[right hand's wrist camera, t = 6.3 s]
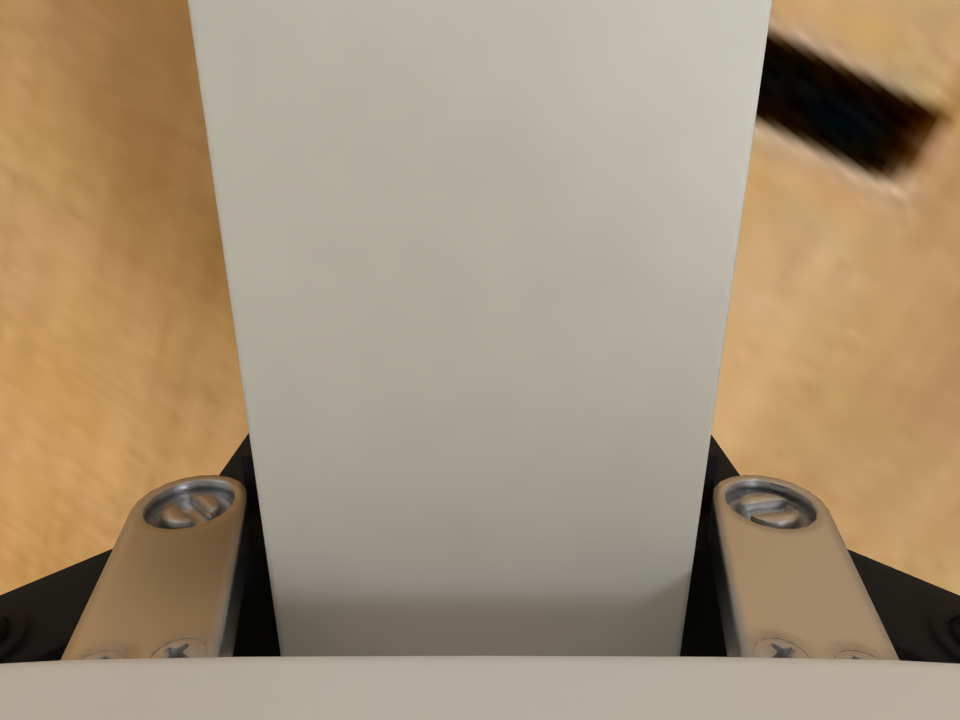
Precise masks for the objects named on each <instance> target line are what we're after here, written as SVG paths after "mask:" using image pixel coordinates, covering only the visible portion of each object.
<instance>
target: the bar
mask: <svg viewBox="0 0 960 720" xmlns="http://www.w3.org/2000/svg"><path fill="white" fill-rule="evenodd" d="M771 4H772V0H188V6H189V13H190V20H191V27H192V34H193V41H194V48H195V55H196V62H197V69H198V76H199V83H200V90H201V98H202V105H203V112H204V119H205V126H206V133H207V140H208V147H209V154H210V161H211V168H212V175H213V182H214V189H215V196H216V203H217V210H218V217H219V224H220V231H221V238H222V245H223V252H224V259H225V267H226V274H227V281H228V288H229V295H230V302H231V309H232V316H233V323H234V330H235V337H236V344H237V351H238V358H239V365H240V372H241V379H242V386H243V393H244V400H245V407H246V414H247V421H248V428H249V436H250V443H251V450H252V457H253V464H254V471H255V478H256V485H257V492H258V499H259V506H260V513H261V520H262V527H263V534H264V541H265V548H266V555H267V562H268V569H269V576H270V583H271V590H272V598H273V605H274V612H275V619H276V626H277V633H278V640H279V647H280V654H281V657H308V656H652V657H680V651H681V644H682V637H683V630H684V623H685V615H686V608H687V601H688V594H689V587H690V580H691V573H692V566H693V559H694V551H695V544H696V537H697V530H698V523H699V516H700V509H701V502H702V495H703V487H704V480H705V473H706V466H707V459H708V452H709V445H710V438H711V431H712V423H713V416H714V409H715V402H716V395H717V388H718V381H719V374H720V367H721V359H722V352H723V345H724V338H725V331H726V324H727V317H728V310H729V303H730V295H731V288H732V281H733V274H734V267H735V260H736V253H737V246H738V239H739V231H740V224H741V217H742V210H743V203H744V196H745V189H746V182H747V175H748V168H749V160H750V153H751V146H752V139H753V132H754V125H755V118H756V111H757V104H758V96H759V89H760V82H761V75H762V68H763V61H764V54H765V47H766V40H767V32H768V25H769V18H770V11H771Z"/></svg>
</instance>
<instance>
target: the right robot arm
mask: <svg viewBox="0 0 960 720" xmlns="http://www.w3.org/2000/svg"><path fill="white" fill-rule="evenodd" d="M0 720H960V596H959V595H957V594H954V593H952V592H949V591H947V590H945V589H942V588H940V587H937V586H935V585H933V584H930V583H928V582H925V581H923V580H920V579H918V578H916V577H913V576H911V575H908V574H906V573H904V572H901V571H899V570H896V569H894V568H892V567H889V566H887V565H884V564H882V563H879V562H877V561H875V560H872V559H870V558H867V557H865V556H863V555H860V554H858V553H855V552H853V551H851V550H848V549H847V548H846V546H845V544H844V541H843V539H842V537H841V535H840V533H839V531H838V529H837V527H836V524H835V522H834V520H833V518H832V516H831V514H830V512H829V510H828V509H827V507H826V506H825V505H824V503H823V502H822V501H821V500H820V499H819V498H817V497H816V496H815V495H813V494H812V493H811V492H809V491H807V490H805V489H803V488H801V487H799V486H797V485H795V484H792V483H789V482H786V481H783V480H780V479H776V478H771V477H765V476H754V475H742V476H740V475H739V473H738V472H737V471H736V469H735V468H734V466H733V465H732V464H731V462H730V461H729V459H728V458H727V456H726V455H725V454H724V452H723V451H722V449H721V448H720V446H719V445H718V444H717V442H716V441H715V439H714V438H713V436H712V435H711V438H710V445H709V452H708V459H707V466H706V473H705V480H704V487H703V495H702V502H701V509H700V516H699V523H698V530H697V537H696V544H695V551H694V559H693V566H692V573H691V580H690V587H689V594H688V601H687V608H686V615H685V623H684V630H683V637H682V644H681V651H680V657H652V656H308V657H281V654H280V647H279V640H278V633H277V626H276V619H275V612H274V605H273V598H272V590H271V583H270V576H269V569H268V562H267V555H266V548H265V541H264V534H263V527H262V520H261V513H260V506H259V499H258V492H257V485H256V478H255V471H254V464H253V457H252V450H251V443H250V436H249V434H248V435H247V436H246V438H245V439H244V441H243V442H242V444H241V445H240V446H239V448H238V449H237V451H236V452H235V454H234V455H233V456H232V458H231V459H230V461H229V462H228V463H227V465H226V466H225V468H224V469H223V471H222V472H221V473H220V475H219V476H218V475H206V476H195V477H189V478H184V479H180V480H177V481H174V482H171V483H168V484H165V485H163V486H161V487H159V488H157V489H155V490H153V491H151V492H149V493H148V494H147V495H145V496H144V497H143V498H141V499H140V500H139V501H138V502H137V503H136V505H135V506H134V507H133V509H132V510H131V512H130V514H129V516H128V518H127V520H126V522H125V524H124V527H123V529H122V531H121V533H120V535H119V537H118V539H117V541H116V544H115V546H114V548H113V549H111V550H109V551H106V552H104V553H101V554H99V555H97V556H94V557H92V558H89V559H87V560H85V561H82V562H80V563H77V564H75V565H73V566H70V567H68V568H65V569H63V570H60V571H58V572H56V573H53V574H51V575H48V576H46V577H44V578H41V579H39V580H36V581H34V582H32V583H29V584H27V585H24V586H22V587H20V588H17V589H15V590H12V591H10V592H7V593H5V594H3V595H0Z"/></svg>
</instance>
